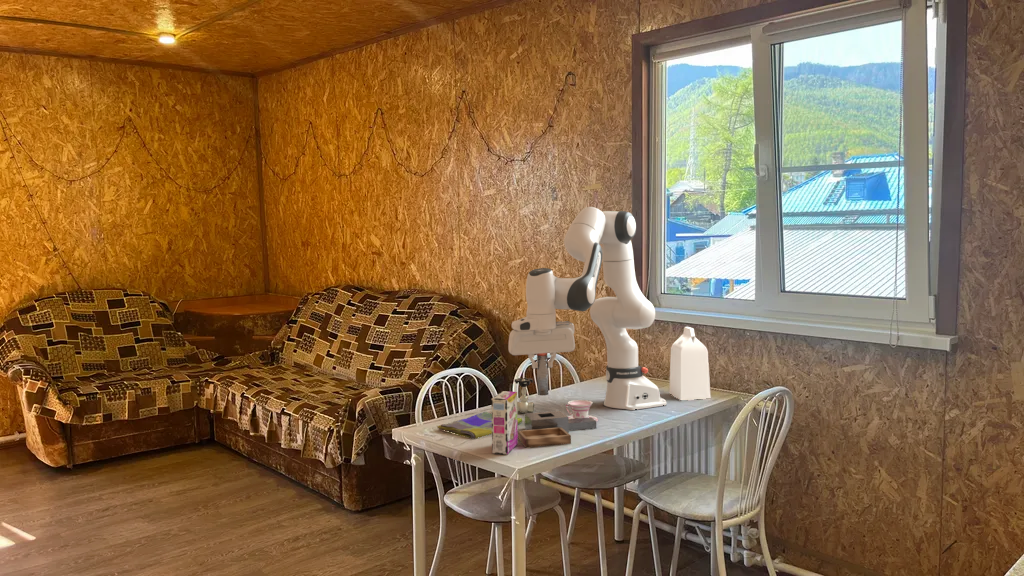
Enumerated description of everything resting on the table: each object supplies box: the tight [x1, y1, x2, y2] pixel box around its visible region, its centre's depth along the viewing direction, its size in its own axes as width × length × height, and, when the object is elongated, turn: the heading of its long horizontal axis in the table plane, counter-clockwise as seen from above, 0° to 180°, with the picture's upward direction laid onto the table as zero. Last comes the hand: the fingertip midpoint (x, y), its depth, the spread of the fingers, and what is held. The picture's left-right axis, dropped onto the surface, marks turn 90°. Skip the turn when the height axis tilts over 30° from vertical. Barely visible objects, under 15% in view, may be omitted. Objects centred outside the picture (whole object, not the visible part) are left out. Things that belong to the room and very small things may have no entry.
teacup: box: [565, 399, 599, 423], centre depth 259 cm, size 12×12×6 cm
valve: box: [513, 377, 535, 414], centre depth 271 cm, size 7×7×12 cm
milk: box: [668, 326, 712, 401], centre depth 289 cm, size 12×12×26 cm
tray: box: [518, 427, 572, 448], centre depth 235 cm, size 14×10×2 cm
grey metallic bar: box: [536, 353, 549, 396], centre depth 234 cm, size 3×3×14 cm
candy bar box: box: [491, 390, 519, 456], centre depth 228 cm, size 11×5×16 cm, turn 163°
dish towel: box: [437, 411, 523, 440], centre depth 254 cm, size 18×24×3 cm
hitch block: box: [524, 410, 597, 434], centre depth 249 cm, size 22×9×5 cm, turn 103°
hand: (542, 367), depth 234 cm, fingers closed on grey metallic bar, 3 cm apart
